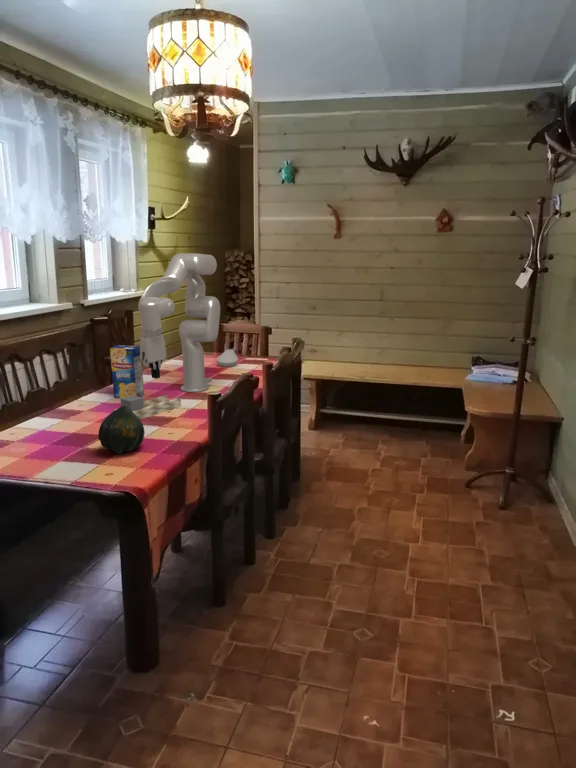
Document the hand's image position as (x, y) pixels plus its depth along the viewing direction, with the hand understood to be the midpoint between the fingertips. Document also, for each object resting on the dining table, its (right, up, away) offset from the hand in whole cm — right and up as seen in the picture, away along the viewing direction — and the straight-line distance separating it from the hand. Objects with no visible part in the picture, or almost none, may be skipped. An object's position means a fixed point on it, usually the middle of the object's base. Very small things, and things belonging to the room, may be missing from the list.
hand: (156, 377), depth 242 cm
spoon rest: (+20, +8, +89) cm, 91 cm away
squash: (-2, -24, -42) cm, 48 cm away
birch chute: (-3, -14, -1) cm, 14 cm away
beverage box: (-17, -8, +23) cm, 29 cm away
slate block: (-7, -14, -7) cm, 17 cm away
